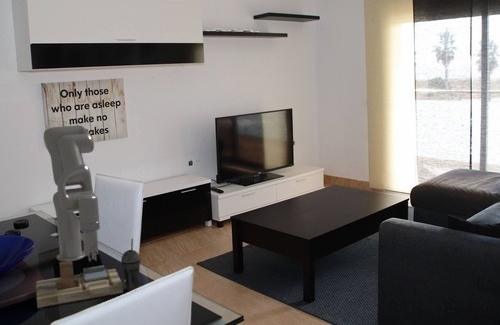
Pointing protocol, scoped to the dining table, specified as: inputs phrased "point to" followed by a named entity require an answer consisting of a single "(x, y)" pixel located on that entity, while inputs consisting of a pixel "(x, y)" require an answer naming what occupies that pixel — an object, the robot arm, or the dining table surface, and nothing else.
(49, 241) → the dining table surface
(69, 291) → the puzzle board
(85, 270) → the lid
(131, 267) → the beverage cup
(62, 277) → the walnut block
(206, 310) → the dining table surface
